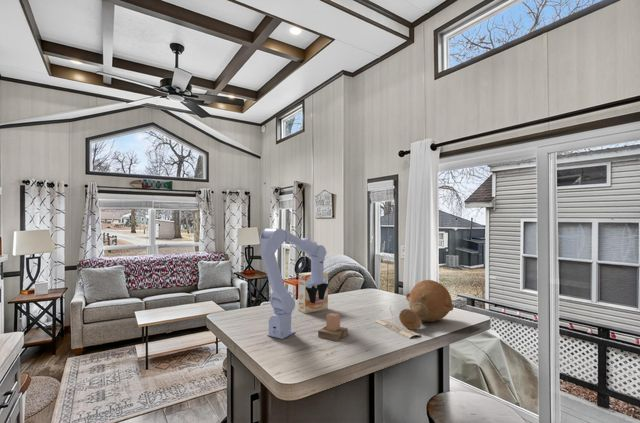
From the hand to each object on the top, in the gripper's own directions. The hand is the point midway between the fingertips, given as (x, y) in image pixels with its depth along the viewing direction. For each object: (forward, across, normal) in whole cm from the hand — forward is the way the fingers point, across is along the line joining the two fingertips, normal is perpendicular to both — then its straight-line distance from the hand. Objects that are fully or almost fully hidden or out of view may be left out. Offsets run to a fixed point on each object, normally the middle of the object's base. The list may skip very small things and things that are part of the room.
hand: (317, 301), depth 148 cm
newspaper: (+11, +12, -33) cm, 37 cm away
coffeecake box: (+11, +20, +14) cm, 27 cm away
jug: (+11, +28, -41) cm, 50 cm away
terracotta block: (+8, -9, -13) cm, 18 cm away
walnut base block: (+11, -9, -13) cm, 19 cm away
